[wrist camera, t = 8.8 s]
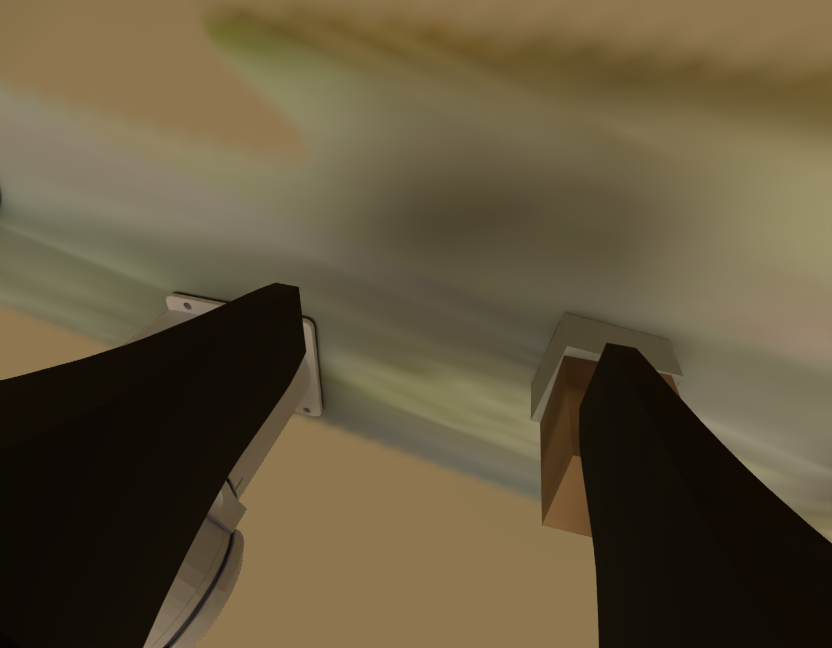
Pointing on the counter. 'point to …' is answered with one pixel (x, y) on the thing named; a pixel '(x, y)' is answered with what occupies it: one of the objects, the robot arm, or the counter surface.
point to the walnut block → (567, 448)
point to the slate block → (595, 353)
